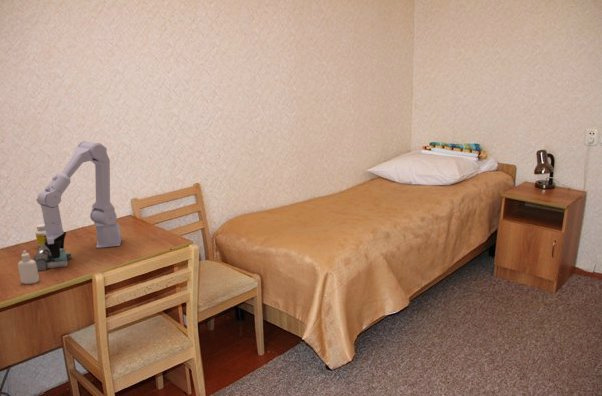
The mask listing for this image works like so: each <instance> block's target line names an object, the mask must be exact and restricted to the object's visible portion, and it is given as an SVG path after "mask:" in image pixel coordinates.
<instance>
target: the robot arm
mask: <svg viewBox="0 0 602 396" xmlns="http://www.w3.org/2000/svg"><path fill="white" fill-rule="evenodd" d="M87 162H91V163H92V164H94V165H95V167H94V168H95V170H94V171H95V172H94V173H95V202H93V204H92V206H91V208H92V209H91V212H90V214H89V215H90V216H89V217H90V220H91V221H92V222H93V223H94V226H95V233H96V239H97V242H96V243H97V244H96V246H95V248H96V249H100V248H110V247H120V246H121V244H122V240H123V239H122V232H121V226H120V223H119V222H116V221H117V218H118V217H117V213H116V211H115V208H116V207H115V206H114V205H113V204H112V203H111V183H110V182H111V171H110V170H111V165H110V163H111V160H110V157H109V155H108V153H107V147H106V146H104V145H103V144H102V143H101V142H90V141H85V140H84V141H81V142H79V143H78V144H77V146H76V148H74V151H73V155H72V156H71V158H70V159H69V161H68V162H67V164H66V165H65V167H64V168H63V170H62V172H61V173H56V174H55V175H53V176H52V180H51V181H50V182H49V184H48V185H47V186H45V187H44V189H43V190H41V191H40V192H39V193H38V195H37V198H36V202H37V204H39V206H40V208H41V213H42V218H43V224H45V230H46V232H44V233H43V236H46V237H47V241H45V246H46V247H47V248H48V249H49V250H50V252H51V254H52V256H53V258H59V257H60V248H64V249H65V239H66V235H67V232H66V231H64V228H63V223H62V218H61V213H60V207H59V204H60V203H61V201H62V196H63V194H64V192H65V191H66V189H67V188H68V187H69V186H70V184H71V178H72V177H73V175H74V174H75V173H76V172H77V170H79V168H80V166H81V165H82V164H83V163H87Z"/></svg>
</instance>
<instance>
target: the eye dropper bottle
mask: <svg viewBox="0 0 602 396" xmlns="http://www.w3.org/2000/svg"><path fill="white" fill-rule="evenodd" d="M20 256H21V260H20V261H19V262H18V263H17V267H18V273H19V278H20V283H21V284H26V285H27V284H29V285H32V284H36V283H38V282H39V281H40V276H39V271H38V270H37V265H36V262H35V261H34V260H33V259H31V256H30V253H29V252H27V250H22V254H21V255H20Z"/></svg>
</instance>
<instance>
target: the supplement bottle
mask: <svg viewBox="0 0 602 396" xmlns="http://www.w3.org/2000/svg"><path fill="white" fill-rule="evenodd" d="M44 232H46V230H45V224H44V223H39V224H37V225H36V230H35V237H36V243H37V244H36V245H37V248H38V250H39V249H40V247H41V246H42V245H43V244H45V241H47V237H46V236H43V233H44Z"/></svg>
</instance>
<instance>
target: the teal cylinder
mask: <svg viewBox="0 0 602 396" xmlns="http://www.w3.org/2000/svg"><path fill="white" fill-rule="evenodd" d="M66 253H67V251H66V249H65V247H64V248H60V257H59V258H53V260H52V262H54V261H63V260H67V261H68V259H67V256H66ZM52 257H53V256H52Z"/></svg>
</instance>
